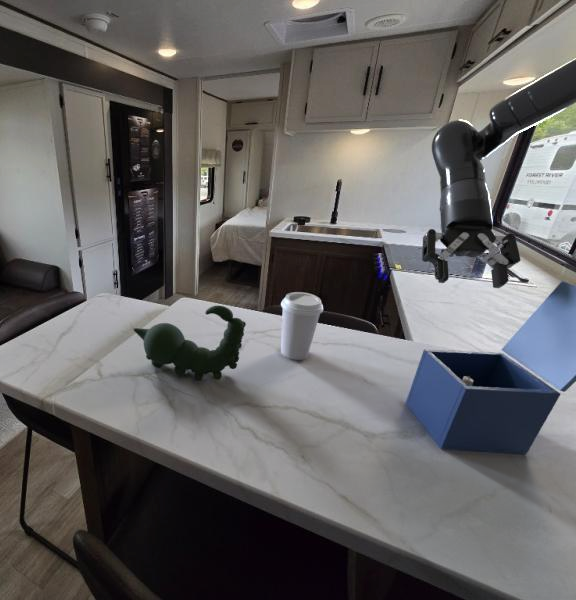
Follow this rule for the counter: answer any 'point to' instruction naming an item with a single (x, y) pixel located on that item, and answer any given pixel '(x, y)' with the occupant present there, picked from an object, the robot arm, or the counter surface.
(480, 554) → the counter surface
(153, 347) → the toy figurine
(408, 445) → the counter surface
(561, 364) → the lid
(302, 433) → the counter surface
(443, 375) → the case
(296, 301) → the coffee cup
